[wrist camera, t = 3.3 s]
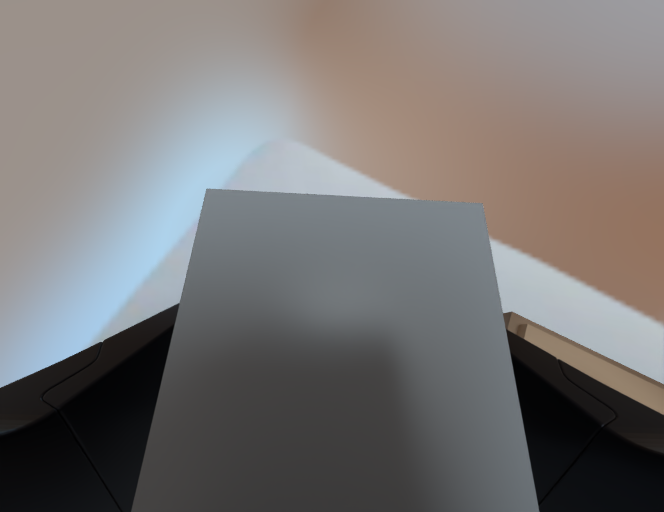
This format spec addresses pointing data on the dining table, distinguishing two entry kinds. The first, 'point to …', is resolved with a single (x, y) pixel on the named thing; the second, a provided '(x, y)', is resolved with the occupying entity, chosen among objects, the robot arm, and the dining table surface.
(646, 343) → the dining table surface
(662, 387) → the walnut stand
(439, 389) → the block
